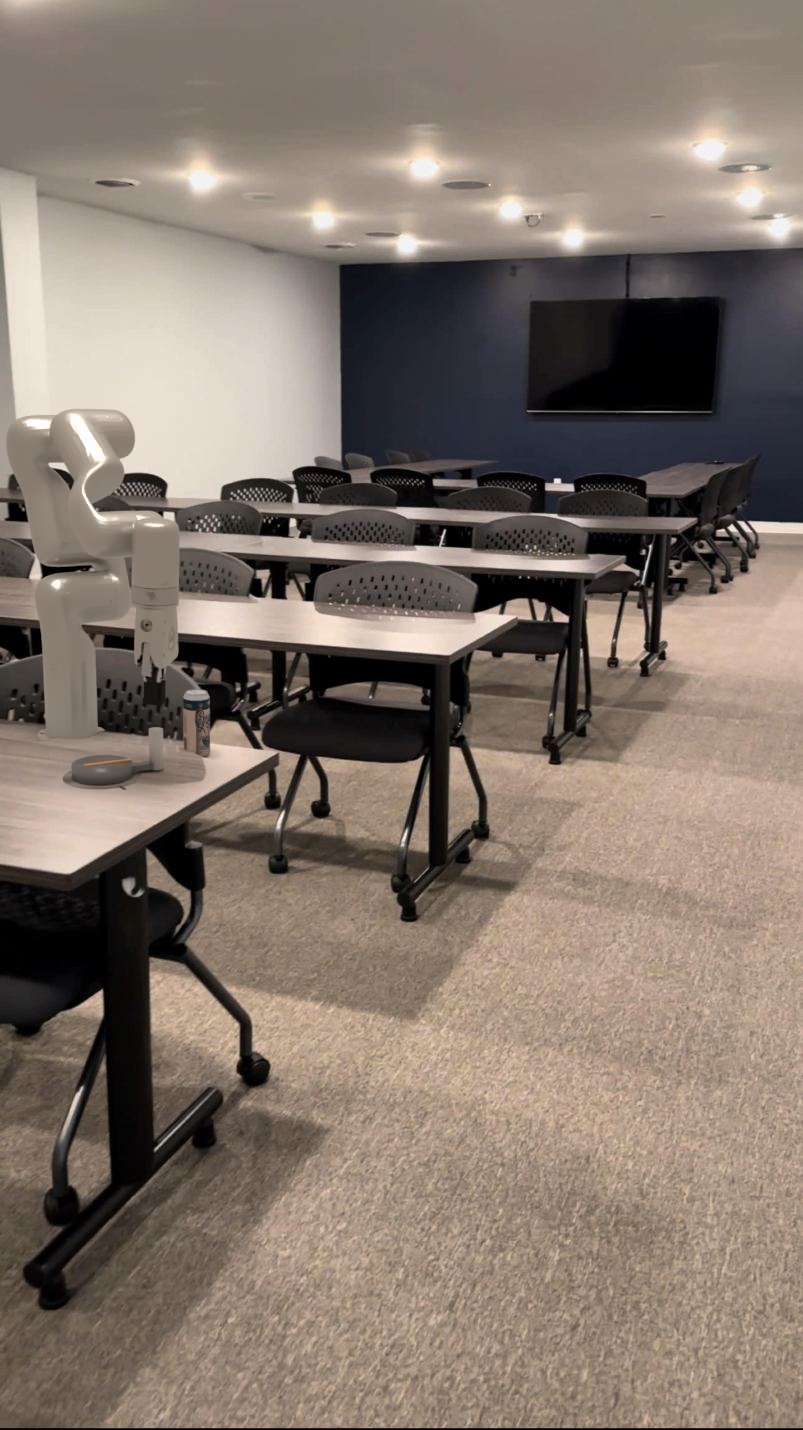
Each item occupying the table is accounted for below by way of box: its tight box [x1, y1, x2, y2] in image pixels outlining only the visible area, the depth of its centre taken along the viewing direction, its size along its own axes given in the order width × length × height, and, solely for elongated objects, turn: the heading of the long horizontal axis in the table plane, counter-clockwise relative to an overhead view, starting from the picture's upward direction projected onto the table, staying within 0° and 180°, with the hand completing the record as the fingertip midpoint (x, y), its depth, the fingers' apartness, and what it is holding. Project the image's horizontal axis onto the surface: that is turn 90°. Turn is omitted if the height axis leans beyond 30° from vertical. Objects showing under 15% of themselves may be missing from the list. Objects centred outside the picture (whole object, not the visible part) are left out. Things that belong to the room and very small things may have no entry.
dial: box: [70, 726, 165, 784], centre depth 206 cm, size 16×10×7 cm, turn 121°
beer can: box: [182, 689, 211, 758], centre depth 223 cm, size 5×5×12 cm
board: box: [62, 770, 150, 791], centre depth 207 cm, size 20×17×1 cm
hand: (154, 703), depth 203 cm, fingers closed
